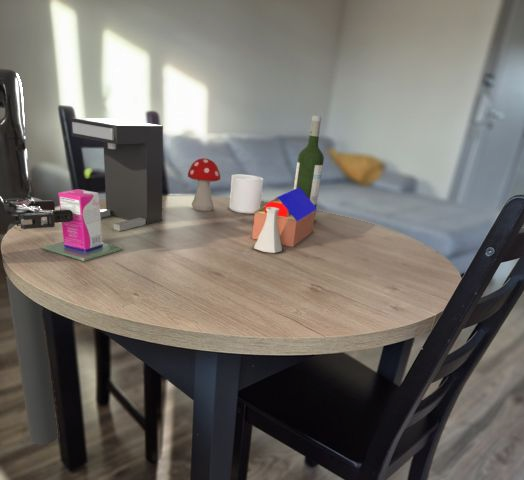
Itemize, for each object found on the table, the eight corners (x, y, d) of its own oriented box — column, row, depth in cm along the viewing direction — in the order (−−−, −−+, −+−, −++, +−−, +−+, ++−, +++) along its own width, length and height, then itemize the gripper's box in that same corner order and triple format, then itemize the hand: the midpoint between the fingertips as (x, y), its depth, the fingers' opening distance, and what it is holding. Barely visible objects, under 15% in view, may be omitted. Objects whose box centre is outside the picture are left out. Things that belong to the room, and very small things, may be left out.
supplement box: (81, 241, 107) (78, 188, 101) (103, 246, 105) (100, 192, 100) (62, 247, 102) (57, 191, 97) (85, 252, 100) (81, 196, 95)
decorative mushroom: (186, 210, 147) (188, 158, 140) (186, 204, 154) (188, 154, 147) (219, 213, 149) (222, 162, 142) (217, 207, 156) (220, 158, 149)
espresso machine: (76, 220, 124) (68, 117, 113) (122, 210, 138) (119, 118, 127) (118, 231, 119) (114, 125, 108) (162, 220, 133) (163, 125, 122)
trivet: (44, 249, 101) (44, 246, 101) (83, 239, 110) (83, 236, 110) (83, 261, 97) (83, 258, 97) (121, 250, 106) (120, 247, 106)
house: (313, 231, 141) (319, 190, 135) (293, 247, 124) (300, 201, 118) (274, 224, 144) (279, 183, 138) (250, 238, 127) (255, 192, 121)
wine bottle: (292, 215, 158) (306, 114, 144) (316, 219, 156) (332, 117, 142) (287, 219, 151) (301, 114, 137) (311, 223, 150) (328, 117, 136)
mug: (255, 215, 152) (259, 181, 147) (225, 210, 153) (227, 176, 148) (264, 208, 163) (268, 176, 158) (236, 203, 164) (238, 172, 159)
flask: (259, 243, 124) (264, 203, 119) (286, 248, 122) (291, 208, 117) (249, 249, 118) (253, 208, 113) (276, 255, 116) (281, 213, 111)
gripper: (-17, 203, 81) (77, 198, 91) (-42, 186, 89) (46, 184, 100) (-10, 246, 84) (79, 237, 95) (-35, 226, 93) (50, 220, 103)
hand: (62, 210), depth 97 cm, fingers open, 8 cm apart
